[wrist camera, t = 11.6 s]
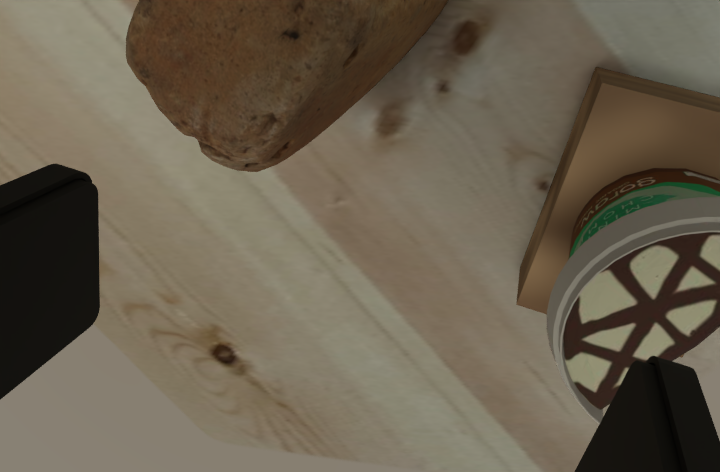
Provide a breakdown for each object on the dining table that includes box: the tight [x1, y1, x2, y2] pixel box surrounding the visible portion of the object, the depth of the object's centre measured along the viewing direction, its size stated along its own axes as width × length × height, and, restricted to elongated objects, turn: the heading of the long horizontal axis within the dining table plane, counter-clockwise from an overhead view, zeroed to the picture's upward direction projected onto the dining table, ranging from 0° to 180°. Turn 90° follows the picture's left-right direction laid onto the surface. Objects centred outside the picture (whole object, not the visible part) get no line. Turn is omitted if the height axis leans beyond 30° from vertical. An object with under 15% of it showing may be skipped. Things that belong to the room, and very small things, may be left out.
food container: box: [547, 168, 720, 424], centre depth 29 cm, size 12×6×10 cm, turn 146°
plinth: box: [516, 67, 720, 357], centre depth 35 cm, size 14×10×5 cm
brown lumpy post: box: [126, 0, 448, 172], centre depth 29 cm, size 11×8×20 cm
